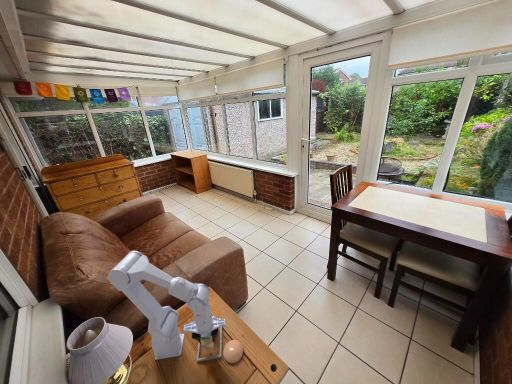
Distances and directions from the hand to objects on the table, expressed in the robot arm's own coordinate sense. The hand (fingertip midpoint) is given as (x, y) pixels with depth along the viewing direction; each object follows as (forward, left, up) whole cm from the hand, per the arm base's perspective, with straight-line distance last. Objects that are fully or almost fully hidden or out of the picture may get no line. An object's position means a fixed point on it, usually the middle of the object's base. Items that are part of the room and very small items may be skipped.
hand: (207, 340), depth 77 cm
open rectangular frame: (0, +4, -6) cm, 7 cm away
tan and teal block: (0, 0, -2) cm, 2 cm away
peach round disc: (+9, -2, -6) cm, 11 cm away
